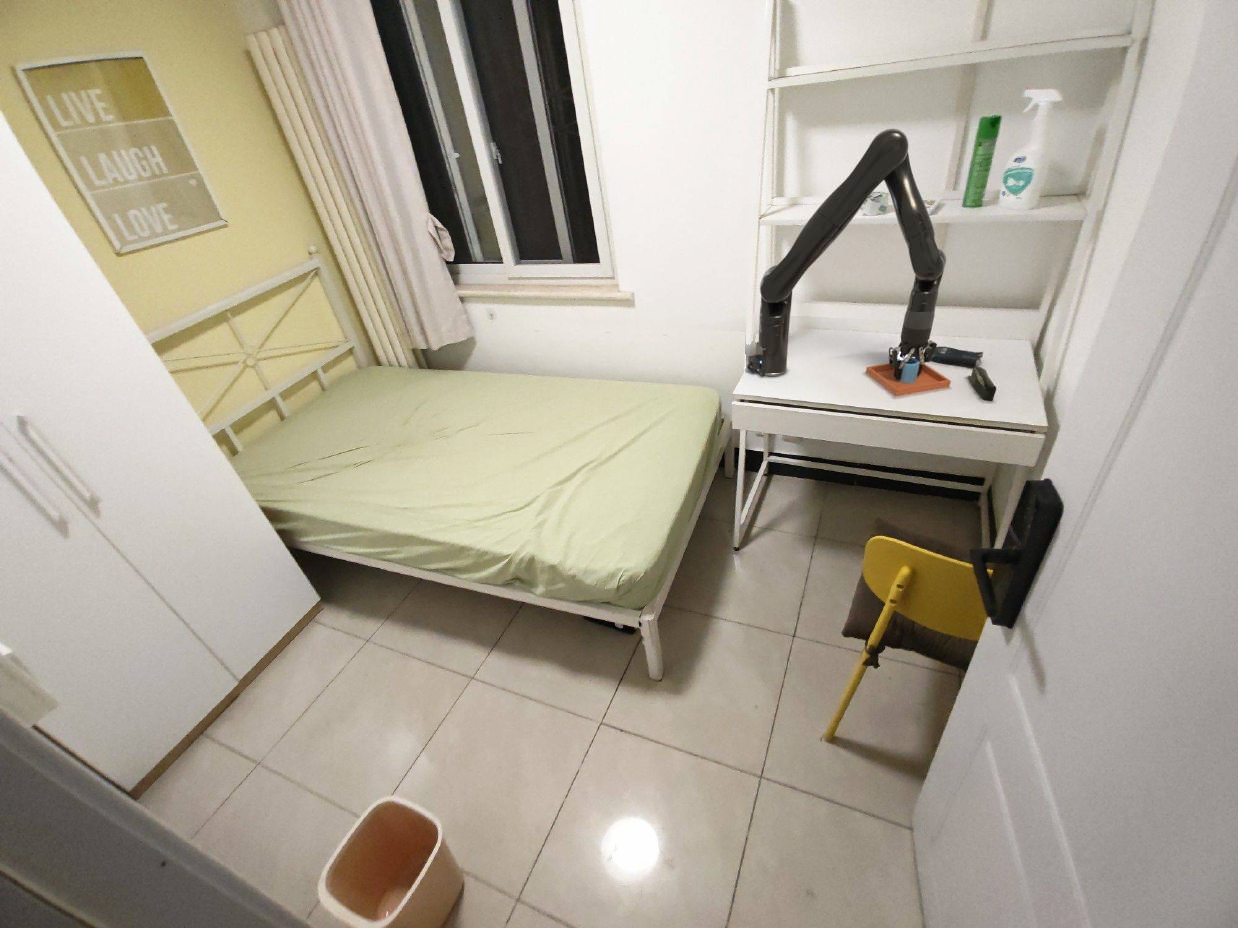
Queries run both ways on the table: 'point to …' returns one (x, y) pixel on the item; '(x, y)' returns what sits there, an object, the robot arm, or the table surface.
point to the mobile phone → (982, 384)
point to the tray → (923, 382)
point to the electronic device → (956, 357)
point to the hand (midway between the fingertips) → (906, 377)
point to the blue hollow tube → (910, 371)
